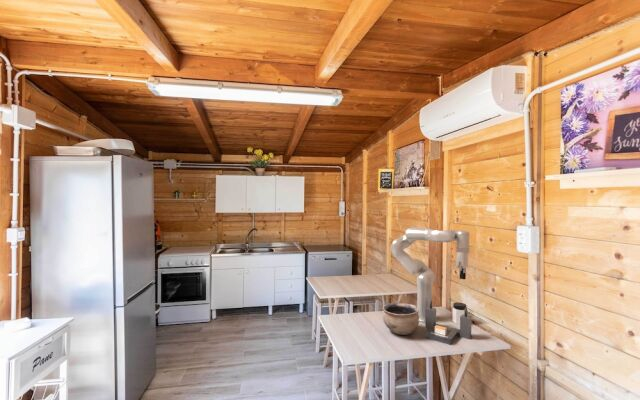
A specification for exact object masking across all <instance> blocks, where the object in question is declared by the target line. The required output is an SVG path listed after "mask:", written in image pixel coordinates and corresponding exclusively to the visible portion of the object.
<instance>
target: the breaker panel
mask: <svg viewBox="0 0 640 400" xmlns="http://www.w3.org/2000/svg"><path fill="white" fill-rule="evenodd" d="M436 325H437V326H441V327H445V328H447V334H446V335H442V334H438V333H435V326H436ZM436 325H435V326H433V327H432V328H431V329H429V330H427V331H426V332H425V338H426V339H429V340H432V341H436V342H439V343H442V344H446V345H452V344H453V343H454V341H456V340H457V339H458V338H459V337H460V328H455V327H451V326H447V325H443V324H439V323H436Z"/></svg>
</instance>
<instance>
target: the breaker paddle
mask: <svg viewBox="0 0 640 400" xmlns="http://www.w3.org/2000/svg"><path fill="white" fill-rule="evenodd" d="M435 333H438V334H442V335H446V334H447V328H445V327H441V326H437V325H436V326H435Z"/></svg>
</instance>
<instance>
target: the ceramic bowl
mask: <svg viewBox="0 0 640 400" xmlns="http://www.w3.org/2000/svg"><path fill="white" fill-rule="evenodd" d="M382 310H383V314H382V319H383V324H384V325H385V326H386V328H388V329H389V330H390V331H391V332H392V333H394V334H397V335H402V336H408V335H410V334H412V333H414V332H415V330H417V328H418V327H419V324H420V321H419V315H418V312H419V309H418V310H417V305H414V304H411V303H403V302H389V303H387V304H384V305H383V306H382Z"/></svg>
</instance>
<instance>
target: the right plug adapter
mask: <svg viewBox="0 0 640 400" xmlns="http://www.w3.org/2000/svg"><path fill="white" fill-rule="evenodd" d="M459 329H460V335H459V338H463V339H467V340H470V339H471V337H472V316H470V315H468V308H467V306H466V307H465V314H464V315H461V316H460V324H459Z"/></svg>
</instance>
